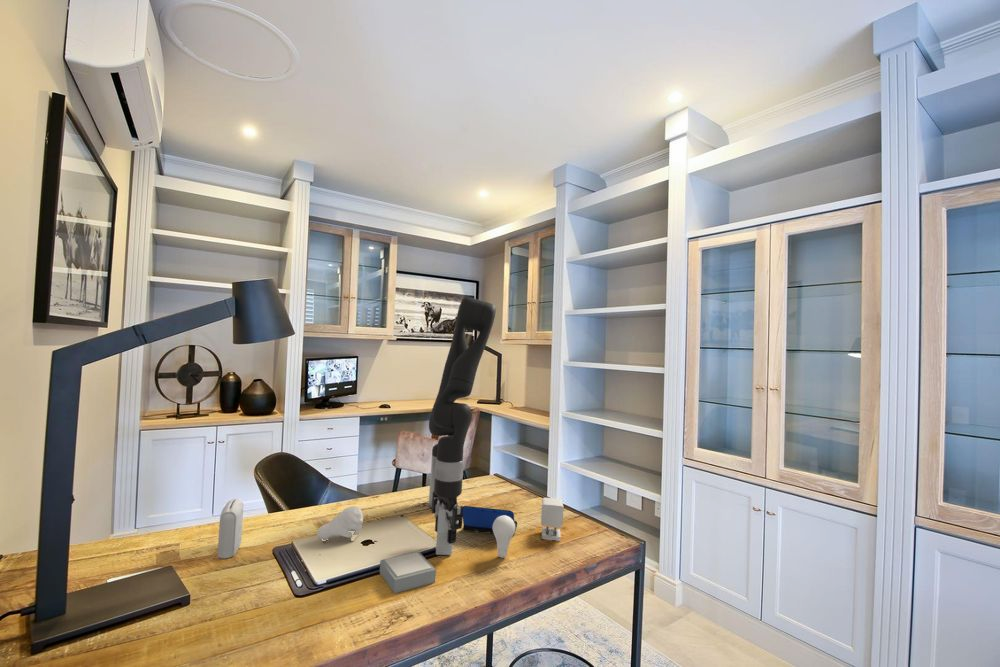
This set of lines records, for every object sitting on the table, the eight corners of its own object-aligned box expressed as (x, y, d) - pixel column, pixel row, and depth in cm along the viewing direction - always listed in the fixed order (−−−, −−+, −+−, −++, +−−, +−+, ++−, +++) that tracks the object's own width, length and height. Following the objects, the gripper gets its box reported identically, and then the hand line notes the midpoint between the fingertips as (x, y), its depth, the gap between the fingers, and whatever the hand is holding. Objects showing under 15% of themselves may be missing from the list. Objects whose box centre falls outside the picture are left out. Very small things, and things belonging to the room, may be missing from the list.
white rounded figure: (364, 509, 126) (317, 519, 120) (365, 539, 126) (319, 551, 120) (360, 501, 131) (315, 510, 126) (361, 530, 131) (316, 540, 126)
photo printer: (224, 541, 121) (227, 495, 121) (242, 540, 122) (245, 494, 122) (215, 560, 111) (218, 509, 111) (234, 558, 112) (238, 508, 112)
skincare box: (436, 544, 125) (439, 501, 125) (452, 544, 126) (454, 501, 126) (435, 555, 119) (438, 509, 119) (451, 555, 120) (454, 510, 120)
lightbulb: (516, 555, 123) (518, 514, 123) (509, 565, 117) (512, 522, 117) (495, 550, 125) (497, 510, 125) (487, 560, 119) (489, 518, 119)
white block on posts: (561, 531, 140) (562, 499, 140) (561, 541, 133) (563, 507, 133) (540, 529, 140) (542, 497, 140) (540, 539, 133) (542, 505, 133)
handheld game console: (517, 525, 143) (519, 495, 143) (512, 543, 130) (514, 511, 130) (469, 519, 146) (471, 490, 146) (459, 536, 132) (461, 505, 132)
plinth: (379, 572, 110) (380, 559, 110) (418, 563, 115) (419, 550, 115) (394, 593, 101) (395, 578, 101) (435, 582, 107) (435, 568, 107)
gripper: (473, 482, 119) (470, 545, 119) (449, 467, 131) (445, 524, 131) (448, 486, 115) (444, 551, 115) (425, 470, 127) (421, 529, 127)
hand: (445, 536), depth 123 cm, fingers closed on skincare box, 7 cm apart
